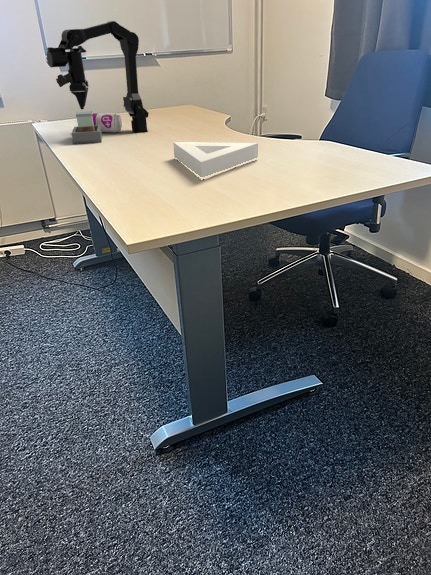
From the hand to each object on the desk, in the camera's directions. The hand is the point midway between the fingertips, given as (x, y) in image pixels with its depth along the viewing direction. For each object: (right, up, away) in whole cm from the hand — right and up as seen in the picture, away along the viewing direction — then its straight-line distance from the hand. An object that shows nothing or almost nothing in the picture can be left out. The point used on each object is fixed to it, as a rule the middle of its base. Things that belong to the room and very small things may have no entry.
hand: (83, 107), depth 180 cm
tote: (0, -11, +7) cm, 13 cm away
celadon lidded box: (0, -6, +4) cm, 7 cm away
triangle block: (+58, -34, -32) cm, 75 cm away
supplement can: (-4, +1, +20) cm, 20 cm away
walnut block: (0, -10, +6) cm, 12 cm away
